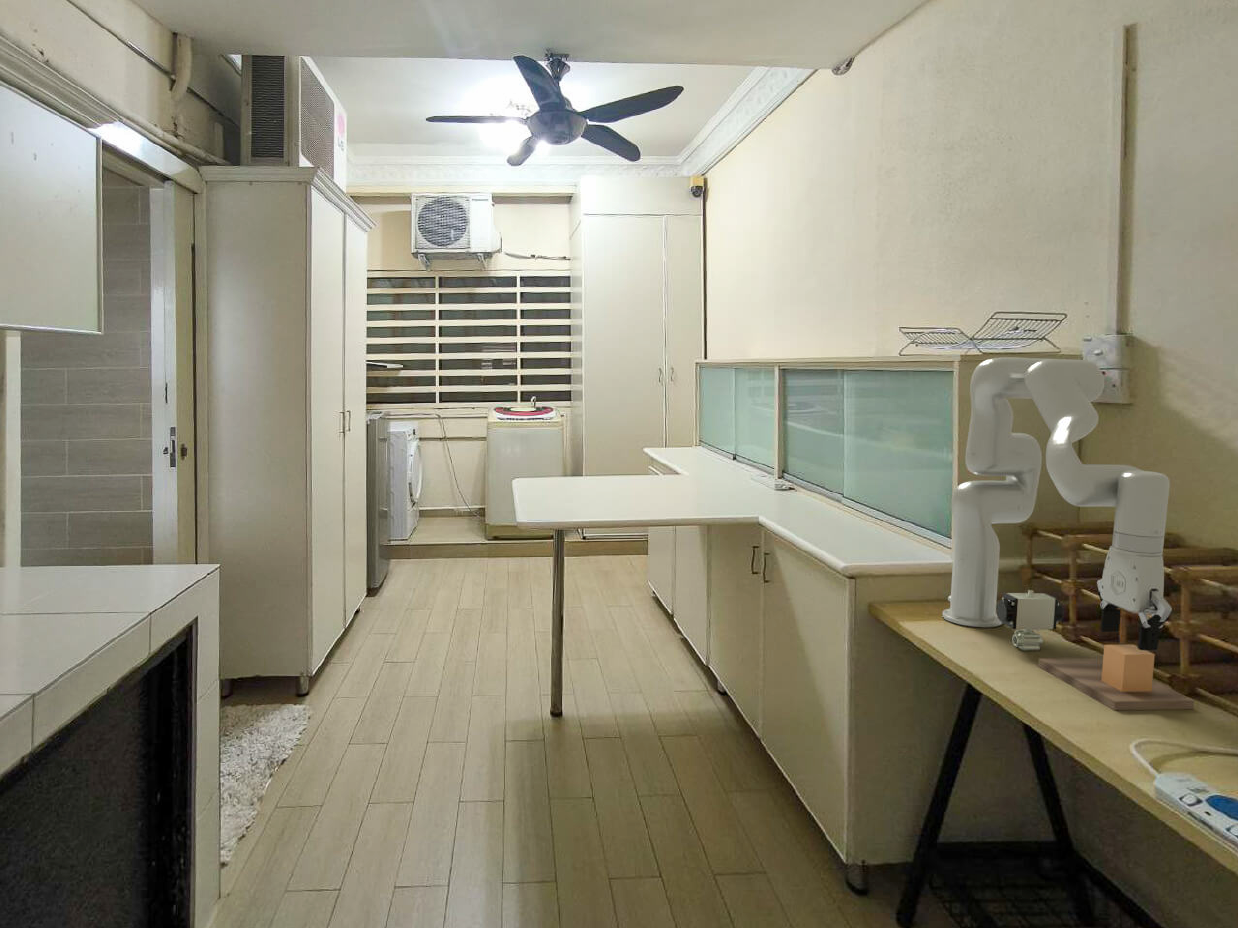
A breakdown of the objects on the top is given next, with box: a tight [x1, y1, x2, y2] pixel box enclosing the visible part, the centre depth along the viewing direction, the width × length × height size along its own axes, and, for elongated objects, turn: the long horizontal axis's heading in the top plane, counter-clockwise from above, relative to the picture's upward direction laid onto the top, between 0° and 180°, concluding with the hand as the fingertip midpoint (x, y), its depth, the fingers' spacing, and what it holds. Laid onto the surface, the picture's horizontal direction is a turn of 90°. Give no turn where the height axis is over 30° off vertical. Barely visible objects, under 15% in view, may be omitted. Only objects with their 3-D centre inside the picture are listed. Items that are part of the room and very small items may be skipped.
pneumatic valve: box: [995, 589, 1064, 652], centre depth 177 cm, size 6×12×12 cm, turn 93°
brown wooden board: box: [1037, 657, 1195, 711], centre depth 156 cm, size 22×14×6 cm, turn 6°
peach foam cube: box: [1101, 644, 1155, 692], centre depth 152 cm, size 5×5×6 cm
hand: (1127, 640), depth 152 cm, fingers open, 9 cm apart
